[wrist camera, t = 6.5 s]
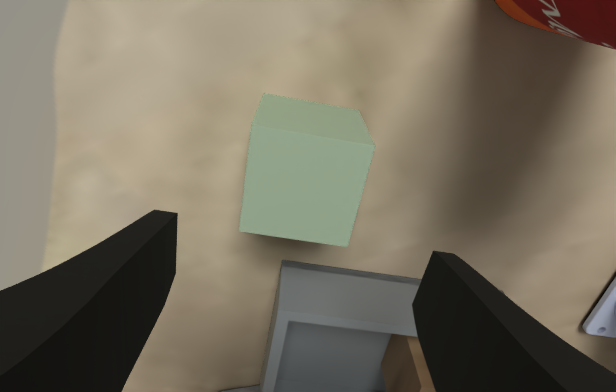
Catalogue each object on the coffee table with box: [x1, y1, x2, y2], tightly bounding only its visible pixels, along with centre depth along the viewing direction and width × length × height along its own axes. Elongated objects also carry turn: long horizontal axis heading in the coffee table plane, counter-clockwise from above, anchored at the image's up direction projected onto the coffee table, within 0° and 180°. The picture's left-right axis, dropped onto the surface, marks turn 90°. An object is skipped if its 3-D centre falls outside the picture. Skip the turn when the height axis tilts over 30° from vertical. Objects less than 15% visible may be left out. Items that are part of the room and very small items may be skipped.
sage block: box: [239, 93, 375, 247], centre depth 17 cm, size 4×4×5 cm
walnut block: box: [381, 334, 436, 392], centre depth 23 cm, size 4×4×5 cm
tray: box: [259, 260, 505, 392], centre depth 23 cm, size 14×10×4 cm
